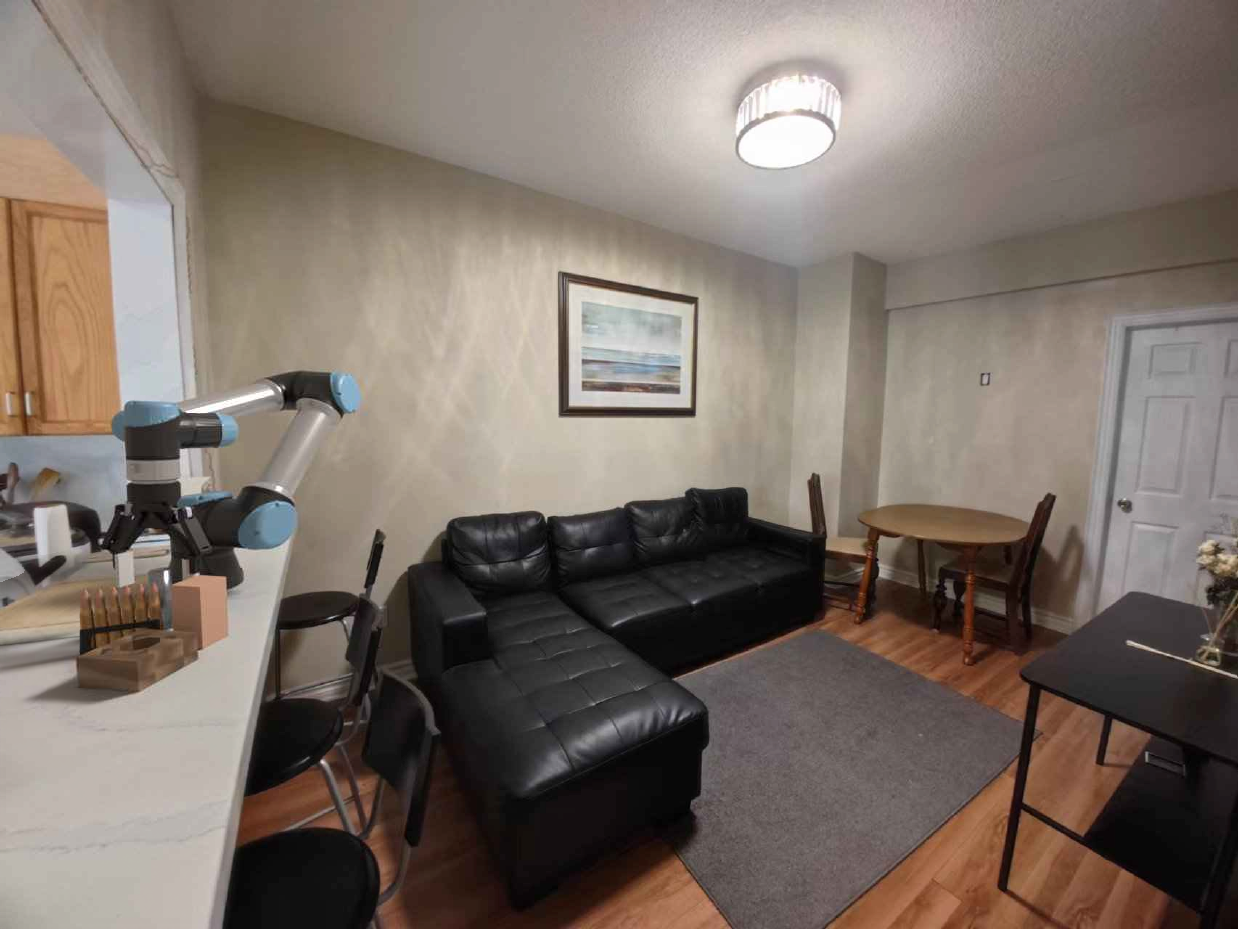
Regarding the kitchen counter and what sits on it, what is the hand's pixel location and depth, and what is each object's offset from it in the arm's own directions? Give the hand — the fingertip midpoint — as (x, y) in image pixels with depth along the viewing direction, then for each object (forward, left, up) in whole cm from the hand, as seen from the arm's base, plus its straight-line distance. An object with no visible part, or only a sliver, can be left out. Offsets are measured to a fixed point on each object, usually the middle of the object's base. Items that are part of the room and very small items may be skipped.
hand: (158, 587), depth 93 cm
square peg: (+4, +12, -9) cm, 15 cm away
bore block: (+15, +12, -9) cm, 21 cm away
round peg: (0, 0, -9) cm, 9 cm away
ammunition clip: (+8, +1, -9) cm, 12 cm away
